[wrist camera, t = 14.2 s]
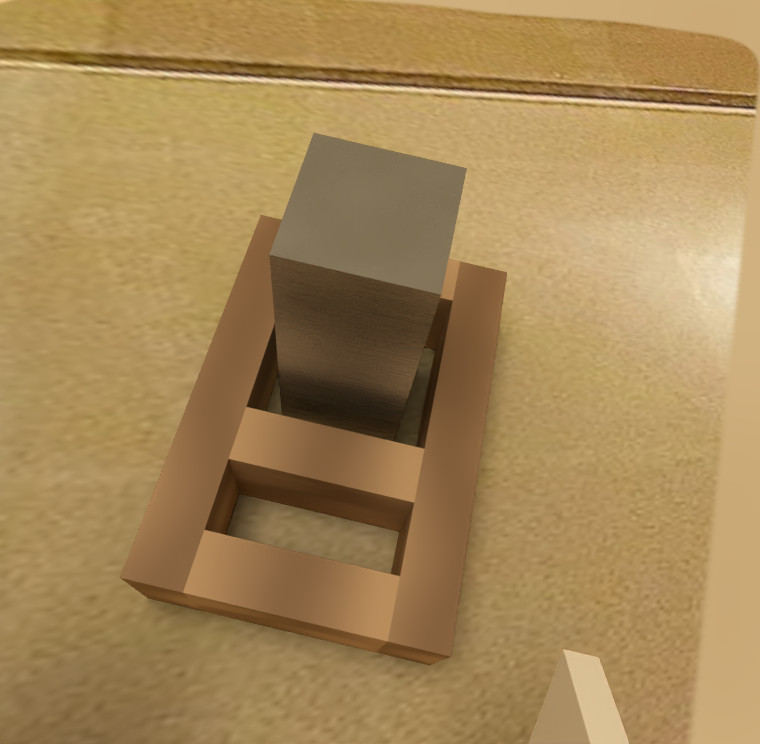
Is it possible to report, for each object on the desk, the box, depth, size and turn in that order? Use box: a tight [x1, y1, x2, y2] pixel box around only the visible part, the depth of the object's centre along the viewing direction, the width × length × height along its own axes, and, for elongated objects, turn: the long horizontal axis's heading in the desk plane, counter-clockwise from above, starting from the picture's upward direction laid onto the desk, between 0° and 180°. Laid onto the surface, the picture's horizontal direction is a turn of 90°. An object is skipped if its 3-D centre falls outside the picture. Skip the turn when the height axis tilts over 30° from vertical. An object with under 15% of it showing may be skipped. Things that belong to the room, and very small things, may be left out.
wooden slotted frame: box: [120, 215, 507, 665], centre depth 26 cm, size 10×15×4 cm
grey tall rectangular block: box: [269, 133, 467, 442], centre depth 23 cm, size 4×4×12 cm
